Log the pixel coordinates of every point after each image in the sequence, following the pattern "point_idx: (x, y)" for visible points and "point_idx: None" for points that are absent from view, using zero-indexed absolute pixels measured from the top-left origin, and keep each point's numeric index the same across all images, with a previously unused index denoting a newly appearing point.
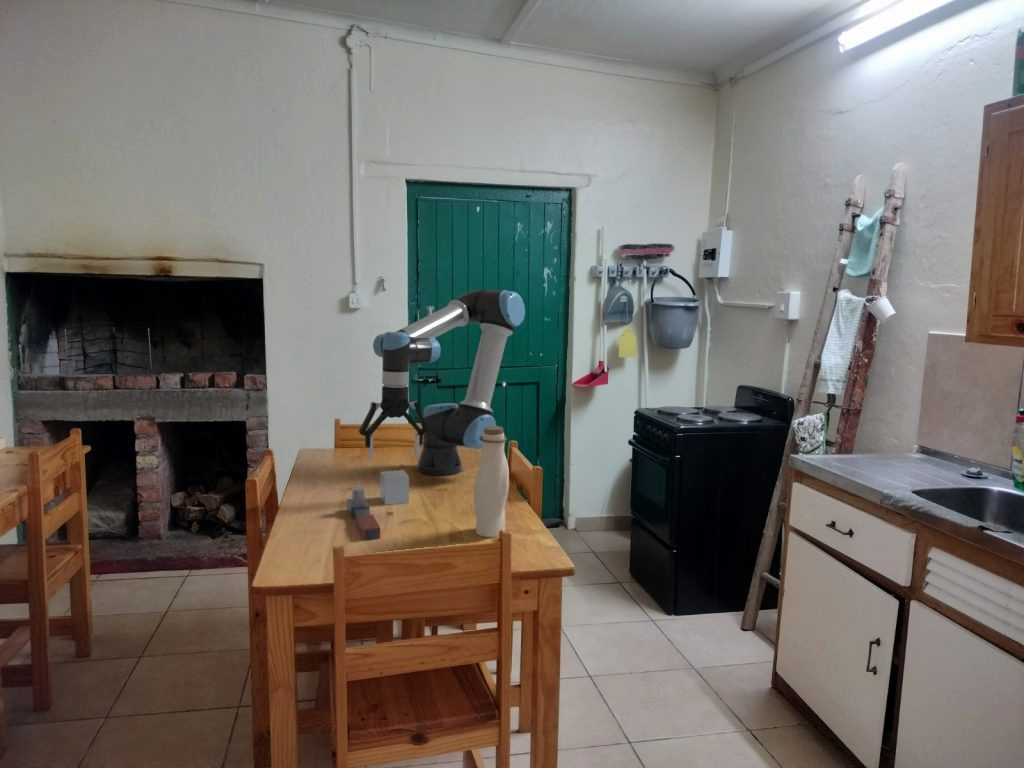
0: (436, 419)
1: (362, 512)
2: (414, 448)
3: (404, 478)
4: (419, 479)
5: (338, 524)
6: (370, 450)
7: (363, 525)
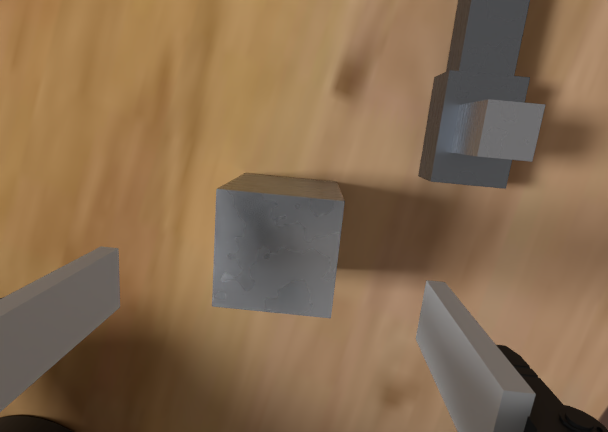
0: None
1: (498, 12)
2: (92, 329)
3: (243, 188)
4: (132, 409)
5: (575, 26)
6: (469, 312)
7: None
